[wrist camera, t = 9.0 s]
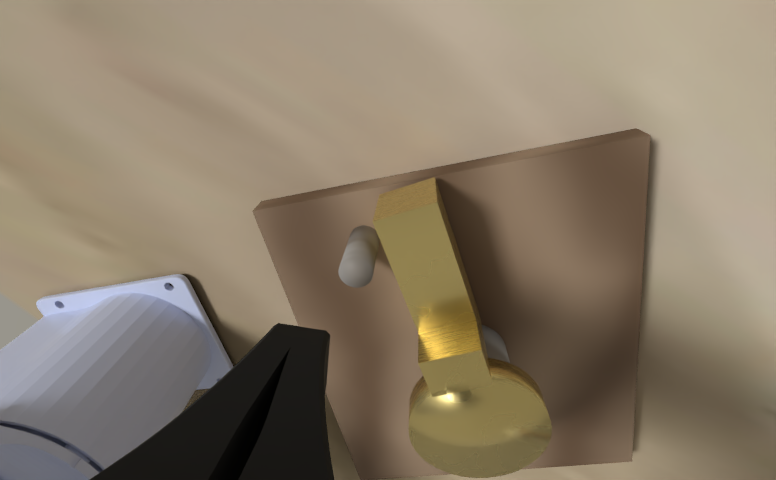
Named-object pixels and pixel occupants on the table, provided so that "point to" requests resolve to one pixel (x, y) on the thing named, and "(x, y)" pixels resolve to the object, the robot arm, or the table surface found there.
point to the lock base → (484, 292)
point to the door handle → (455, 350)
